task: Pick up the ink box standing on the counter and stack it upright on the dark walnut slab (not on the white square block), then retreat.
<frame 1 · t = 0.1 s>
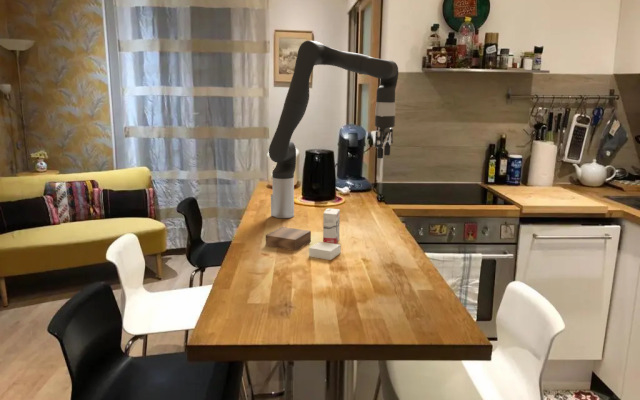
hand: (383, 156, 200), 29 cm above the table, fingers open, 8 cm apart
walnut slab: (288, 243, 188), on the table
ink box: (331, 242, 190), on the table
white square block: (325, 254, 176), on the table
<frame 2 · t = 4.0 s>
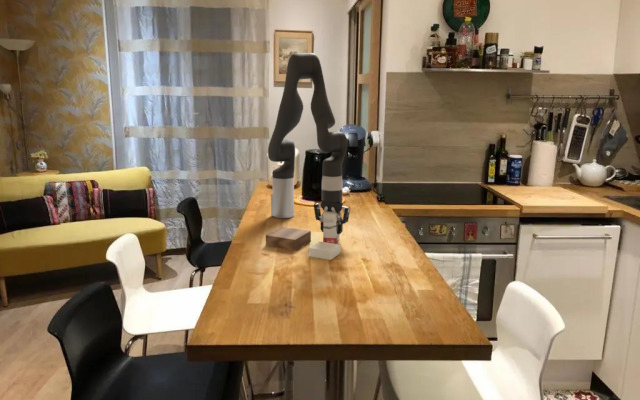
hand: (331, 232, 189), 4 cm above the table, fingers closed on ink box, 5 cm apart
ink box: (331, 242, 190), on the table, touching gripper
when the fingers open (8 cm above the table, at t = 9.9 s): ink box stays where it is, resting on walnut slab.
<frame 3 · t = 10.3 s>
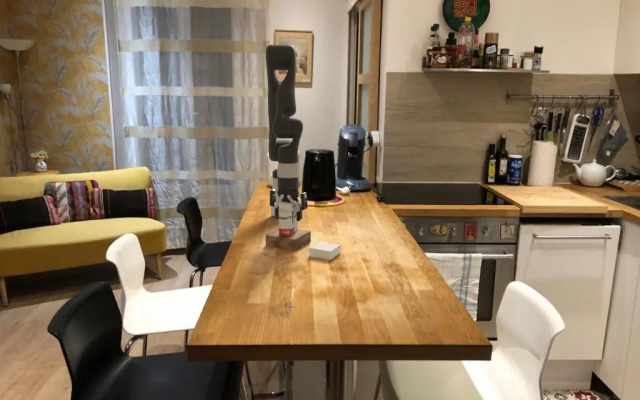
hand: (288, 219, 185), 9 cm above the table, fingers open, 8 cm apart
ink box: (288, 233, 187), point 4 cm above the table, touching walnut slab
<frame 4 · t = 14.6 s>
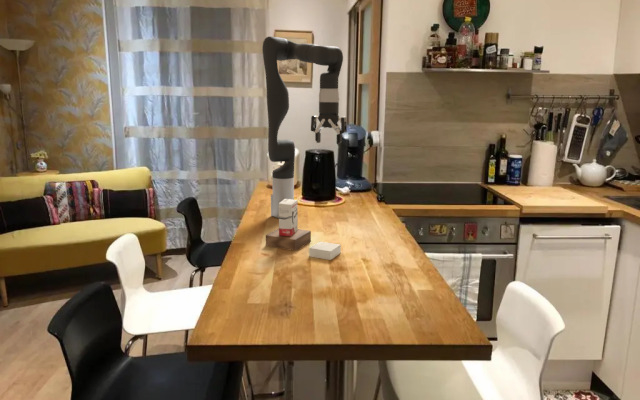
hand: (328, 143, 200), 34 cm above the table, fingers open, 8 cm apart
nothing on the table moved.
at the end: ink box inside the target area on the walnut slab (0.1 cm from its centre), point 3.8 cm above the walnut slab's base; ink box tilted 0°; ink box touching walnut slab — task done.
